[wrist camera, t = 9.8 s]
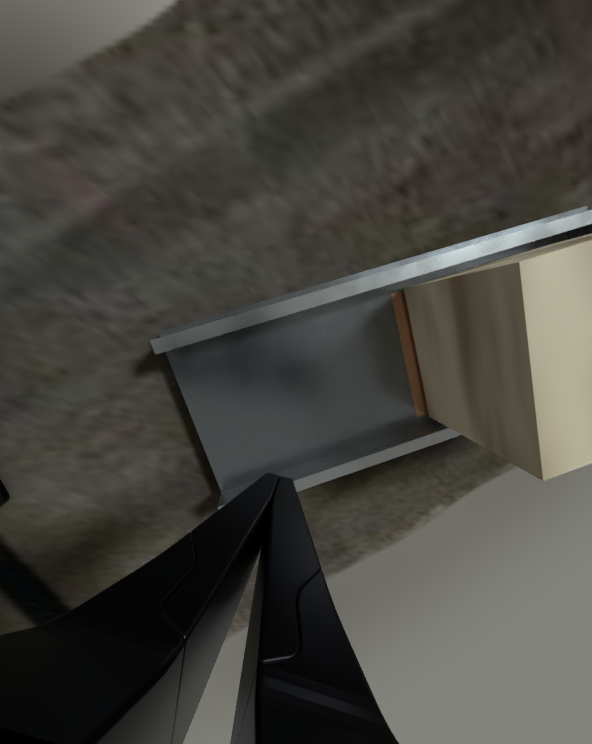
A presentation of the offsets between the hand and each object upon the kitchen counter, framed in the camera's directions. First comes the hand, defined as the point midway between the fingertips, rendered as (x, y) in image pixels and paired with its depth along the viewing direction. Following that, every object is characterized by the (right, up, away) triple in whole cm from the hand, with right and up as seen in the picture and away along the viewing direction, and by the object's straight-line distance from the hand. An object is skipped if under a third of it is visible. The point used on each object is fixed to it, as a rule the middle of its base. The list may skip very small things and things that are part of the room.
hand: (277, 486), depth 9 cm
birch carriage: (+13, +6, +10) cm, 18 cm away
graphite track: (+8, +5, +11) cm, 14 cm away
